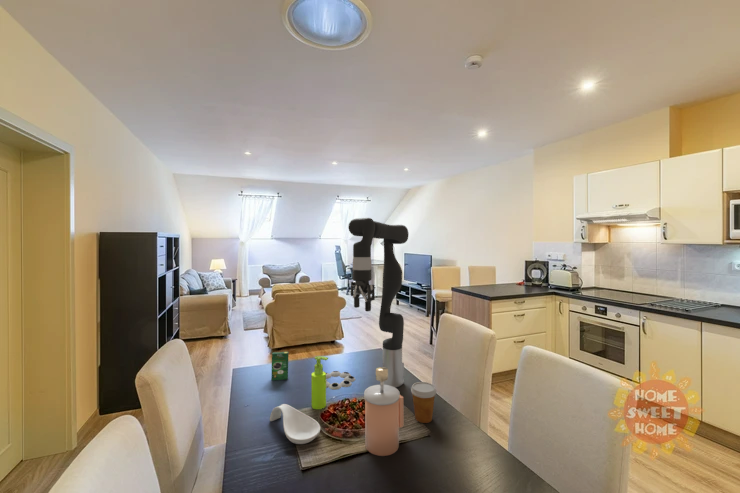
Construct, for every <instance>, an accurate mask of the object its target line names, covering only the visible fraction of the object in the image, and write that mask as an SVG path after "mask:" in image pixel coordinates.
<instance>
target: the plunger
mask: <svg viewBox="0 0 740 493" xmlns="http://www.w3.org/2000/svg"><path fill="white" fill-rule="evenodd" d="M375 380H376V381H377V382H379V385H380V392H381V393H383V392H384V381H386V380H388V369H387V368H385V367H383V366H379V367H376V369H375Z"/></svg>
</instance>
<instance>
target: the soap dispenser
mask: <svg viewBox="0 0 740 493" xmlns="http://www.w3.org/2000/svg"><path fill="white" fill-rule="evenodd" d="M328 359H329V357H326V356H323V355H320V356H319V355H318V356H315V357H314V360H315V361H316V363H315V364H314V371H313V372H311V375H310V376H311V380H310V381H311V383H310V384H311V386H310V387H311V389H310V390H311V393H310V394H311V402H310V403H311V408H312V409H313V410H323V409H324V408H325V407H326V406H327V388H326V373H327V372H325V371H324V370H323V369H324V366H323V363H321V362H322V361H323V360H324V361H328ZM322 408H323V409H322Z"/></svg>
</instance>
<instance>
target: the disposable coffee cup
mask: <svg viewBox="0 0 740 493" xmlns="http://www.w3.org/2000/svg"><path fill="white" fill-rule="evenodd" d="M410 392H411V394H412V403H413V410H414V419H415V421H417V422H418V421H419V423H423V424H425V423H426V424H428V423H431V422H432V420H433V416H434V415H433V414H434V405H435V398H436V394H437V389H436V387H435V385H434V384H433V383H430V382H427V381H417V382H414V383H412V385H411V387H410Z"/></svg>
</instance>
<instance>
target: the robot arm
mask: <svg viewBox="0 0 740 493" xmlns="http://www.w3.org/2000/svg"><path fill="white" fill-rule="evenodd" d="M347 228H348V231H349V233H350V234H351V235H352V236H355V237H362V238H361V240H360V241H357V242H354V243H353V245H352V250H353V251H352V252H353V253H352V256H353V258H352V280H353V281H351V282H350V296H351V297H352V299H353V307H354V308H356V309H357V308H360V296H362V297H363V298H364V310H365V312H371V310H372V302H373V301H375V298H376V297H375V296H376V295H375V285H374V284H370V281H372V278H373V277H372V273H373V271H372V266H373V265H372V249H371V248H372V243H373V239H383V270H382V271H383V272H382V291H381V292H382V293H381V302H380V303H381V304H380V309H379V317H378V318H379V319H378V327H379V330H380V331H382V332H384V333H388V334H389V333H390V334H391V337H389V338H385V339H383V341H382V367H385V368H387V369H388V380H386V381H384V385H389V386H393V387H395V388H399V387H401V386H402V385H403V384H404V383H405V364H404V362H403V341H404V329H405V327H404V326H405V322H404V320H405V319H404V317H403V315H402V314H401V313H398V312H396V313H395V312H391V308H392V307H391V306H392V304H393V301H394V299H395V297H396V296H397V294H398V293H399V292H400V290H401V287H402V283H403V271H402V267H401V265H400V264H399V262H398V260H397V258H396V255H395V252H394V245H403V244H406V243H407V241H408V240H409V230H408V228H407V226H405V225H403V224H387V223H384V222H380V221H375V220H374V219H372V218H371V217H358V218H353V219H351V220H350V221H349V223H348V227H347Z"/></svg>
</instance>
